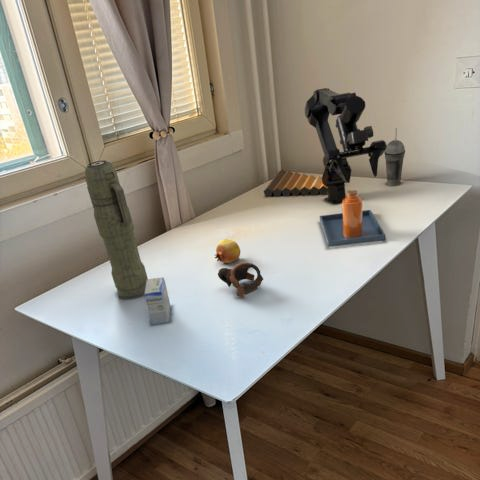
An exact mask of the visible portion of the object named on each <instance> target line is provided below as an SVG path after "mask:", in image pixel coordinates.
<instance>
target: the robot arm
mask: <svg viewBox="0 0 480 480" xmlns="http://www.w3.org/2000/svg"><path fill="white" fill-rule="evenodd" d="M312 94H313V95H311V96H310V97H309V98H308V100H307V101H306V102H305V107H304V116H305V118H306V119H307V122H308V123H309V125H311V126H312V127H313V128H315V130H316V133H317V137H318V139H319V142H320V147H321V149H322V151H323V158H322V163H323V167H324V171H323V174H322V176H321V178H322V183H323V184H324V185H325V186H326V187H328V193H327V197H324V198H323V201H325V202H327V203H330V204H332V205H337V204H339V203H342V201H343V200H344V199H345V197H346V184H349V183H350V182H351V176H352V168H351V166H350V165H349V162H348V158H349V159H350V158H353V157H354V158H355V157H359V156H364V155H368V157H369V159H368V161H369V165H370V168H371V172H372V175H373V176H374V178H376V177H377V176H378V167H379V159H380V157H381V156H383V155H384V152H385V150H386V148H387V142H386V141H385V140H384V139H381V140H374V141H372V142H371V143H370V145H369V146H366V142H369V139H372V138H373V137H374V128H373V127H372V125H369V126H365V127H363V129H360V128H358V124H357V123H358V122H359V121H360V119H361V117H362V114H363V113H364V111H365V109H366V101H365V100H364V98H362V97H361V96H359V95H357V94H356V92H344V93H343V92H341V93H338V92H336V91H334V90H332V89H330V88H327V87H324V88H318V89H315V90H314V91H313V93H312ZM330 115H331V116H337V117H336V119H335V128H337V132H338V135H339V139H340V140H339V144H340V145H341V146H342V150H343V151H340V148H338V147H337V144H336V141H335V140H336V139H335V137H334V134H333V132H332V129H331V125H330V122H329V117H330ZM364 146H366V147H364Z"/></svg>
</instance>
